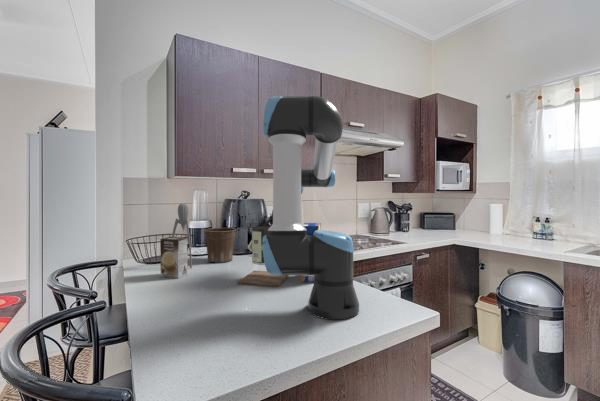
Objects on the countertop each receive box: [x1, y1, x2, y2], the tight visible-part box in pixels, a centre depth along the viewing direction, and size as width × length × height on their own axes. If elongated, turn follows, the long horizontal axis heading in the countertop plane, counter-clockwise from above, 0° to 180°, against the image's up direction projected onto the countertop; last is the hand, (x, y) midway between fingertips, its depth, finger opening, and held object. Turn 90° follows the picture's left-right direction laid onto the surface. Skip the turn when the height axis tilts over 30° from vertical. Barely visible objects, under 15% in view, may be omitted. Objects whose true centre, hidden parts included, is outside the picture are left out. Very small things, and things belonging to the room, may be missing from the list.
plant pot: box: [203, 227, 237, 264], centre depth 153 cm, size 16×16×16 cm
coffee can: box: [251, 225, 271, 266], centre depth 120 cm, size 10×10×14 cm
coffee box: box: [159, 236, 188, 279], centre depth 125 cm, size 9×6×16 cm
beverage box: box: [300, 222, 322, 283], centre depth 121 cm, size 7×11×22 cm, turn 171°
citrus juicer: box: [171, 202, 193, 269], centre depth 141 cm, size 11×10×30 cm
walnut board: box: [237, 270, 290, 288], centre depth 120 cm, size 16×16×1 cm
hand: (259, 250), depth 118 cm, fingers closed on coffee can, 10 cm apart
